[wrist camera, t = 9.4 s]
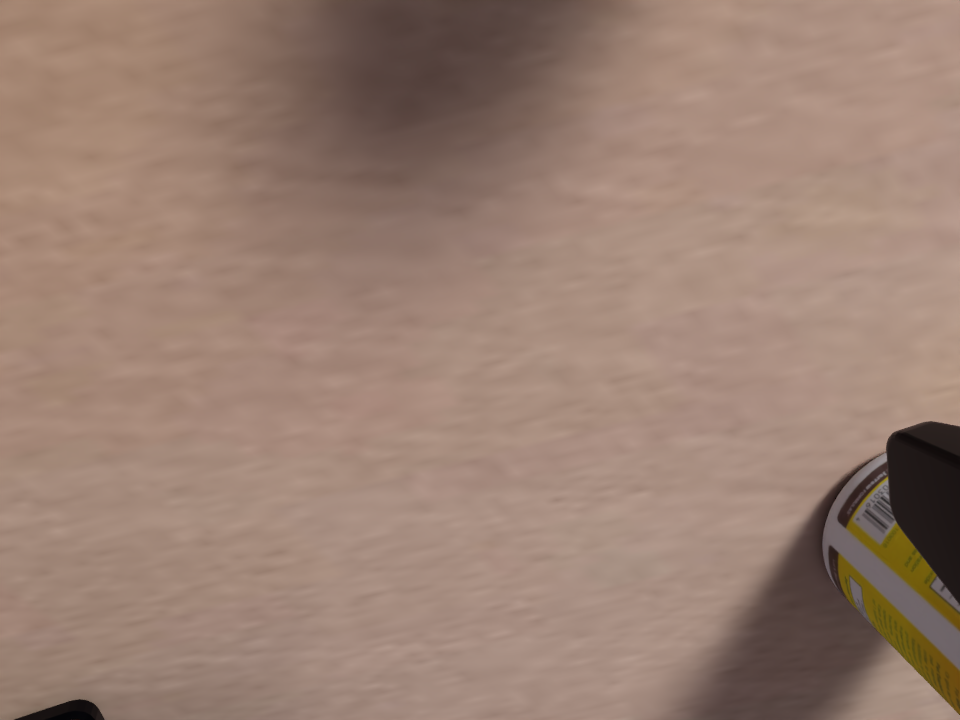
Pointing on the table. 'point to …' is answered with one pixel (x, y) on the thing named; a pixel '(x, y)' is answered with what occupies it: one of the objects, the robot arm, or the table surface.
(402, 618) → the table surface
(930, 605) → the supplement bottle
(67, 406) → the table surface
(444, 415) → the table surface
